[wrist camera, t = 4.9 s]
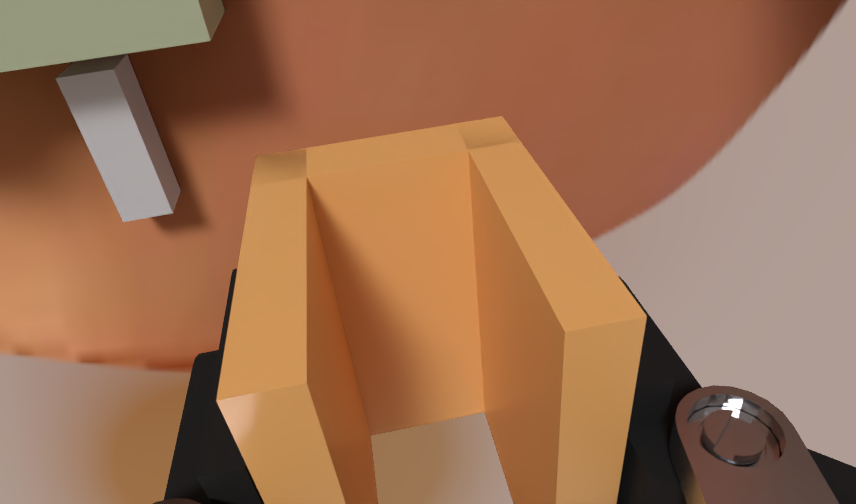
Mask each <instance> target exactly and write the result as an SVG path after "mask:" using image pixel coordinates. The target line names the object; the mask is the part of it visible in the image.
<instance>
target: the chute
mask: <svg viewBox="0 0 856 504" xmlns="http://www.w3.org/2000/svg"><path fill="white" fill-rule="evenodd" d="M646 319H647V315H646V314H645V313H644V311H643V310H642V309H641V307H640V306H639V304H638V303H637V302H636V300H635V299H634V297H633V296H632V295H631V293H630V292H629V291H628V289H627V288H626V286H625V285H624V284H623V282H622V281H621V280H620V278H619V277H618V276H617V274H616V273H615V271H614V270H613V269H612V267H611V266H610V264H609V263H608V262H607V260H606V259H605V258H604V256H603V255H602V253H601V252H600V251H599V249H598V248H597V246H596V245H595V244H594V242H593V241H592V240H591V238H590V237H589V235H588V234H587V233H586V231H585V230H584V228H583V227H582V226H581V224H580V223H579V222H578V220H577V219H576V217H575V216H574V215H573V213H572V212H571V211H570V209H569V208H568V206H567V205H566V204H565V202H564V201H563V199H562V198H561V197H560V195H559V194H558V193H557V191H556V190H555V188H554V187H553V186H552V184H551V183H550V182H549V180H548V179H547V177H546V176H545V175H544V173H543V172H542V171H541V169H540V168H539V166H538V165H537V164H536V162H535V161H534V159H533V158H532V157H531V155H530V154H529V153H528V151H527V150H526V148H525V147H524V146H523V144H522V143H521V142H520V140H519V139H518V137H517V136H516V135H515V133H514V132H513V130H512V129H511V128H510V126H509V125H508V124H507V122H506V121H505V119H504V118H503V117H502V116H500V117H494V118H488V119H482V120H475V121H469V122H463V123H457V124H451V125H445V126H439V127H433V128H427V129H420V130H414V131H408V132H402V133H396V134H390V135H384V136H378V137H371V138H365V139H359V140H353V141H347V142H341V143H335V144H329V145H323V146H316V147H310V148H304V149H298V150H292V151H286V152H280V153H274V154H268V155H261V156H256V158H255V164H254V170H253V176H252V182H251V189H250V195H249V201H248V207H247V213H246V219H245V226H244V232H243V238H242V244H241V250H240V256H239V263H238V269H237V275H236V281H235V287H234V294H233V300H232V306H231V312H230V318H229V324H228V331H227V337H226V343H225V349H224V355H223V362H222V368H221V374H220V380H219V386H218V392H217V399H216V401H217V403H218V406H219V408H220V410H221V412H222V414H223V416H224V418H225V421H226V423H227V425H228V427H229V429H230V431H231V433H232V435H233V438H234V440H235V442H236V444H237V446H238V448H239V450H240V452H241V455H242V457H243V459H244V461H245V463H246V465H247V467H248V469H249V472H250V474H251V476H252V478H253V480H254V482H255V484H256V487H257V489H258V491H259V493H260V495H261V497H262V499H263V501H264V504H378V499H377V489H376V480H375V471H374V461H373V452H372V443H371V435H376V434H380V433H385V432H390V431H395V430H400V429H405V428H410V427H414V426H419V425H425V424H429V423H434V422H439V421H444V420H449V419H454V418H459V417H463V416H468V415H473V414H478V413H483V412H485V414H486V418H487V420H488V424H489V427H490V430H491V434H492V437H493V440H494V443H495V446H496V449H497V452H498V456H499V459H500V462H501V465H502V468H503V472H504V475H505V478H506V481H507V484H508V487H509V491H510V494H511V497H512V500H513V503H514V504H617V497H618V491H619V485H620V479H621V473H622V467H623V460H624V454H625V448H626V442H627V436H628V430H629V424H630V417H631V411H632V405H633V399H634V393H635V387H636V381H637V374H638V368H639V362H640V356H641V350H642V344H643V337H644V331H645V325H646Z"/></svg>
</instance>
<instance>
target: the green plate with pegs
mask: <svg viewBox="0 0 856 504" xmlns="http://www.w3.org/2000/svg"><path fill="white" fill-rule="evenodd" d="M224 12H225V10H224V6H223V3H222V0H0V72H7V71H13V70H20V69H27V68H34V67H40V66H47V65H54V64H60V63H67V62H73V63H72V64H70V65H69V66H68V67H67V68H66V69H65V70H64V71H63V72H62V73H61V74H59V75H58V76H57V77H56V78H55V79H56V81H57V83H58V85H59V87H60V89H61V92H62V94H63V96H64V98H65V100H66V102H67V104H68V106H69V108H70V111H71V113H72V115H73V117H74V119H75V121H76V123H77V125H78V127H79V130H80V132H81V134H82V136H83V138H84V140H85V142H86V144H87V146H88V149H89V151H90V153H91V155H92V157H93V159H94V161H95V163H96V165H97V168H98V170H99V172H100V174H101V176H102V178H103V180H104V182H105V184H106V187H107V189H108V191H109V193H110V195H111V197H112V199H113V201H114V203H115V206H116V208H117V210H118V212H119V214H120V216H121V218H122V220H123V222H126V221H132V220H138V219H143V218H149V217H155V216H161V215H166V214H172V213H173V212H174V209H175V206H176V203H177V200H178V197H179V195H180V192H181V190H180V187H179V185H178V182H177V180H176V177H175V175H174V172H173V170H172V167H171V165H170V162H169V159H168V157H167V154H166V152H165V149H164V147H163V144H162V142H161V139H160V136H159V134H158V131H157V129H156V126H155V124H154V121H153V119H152V116H151V114H150V111H149V108H148V106H147V103H146V101H145V98H144V96H143V93H142V91H141V88H140V85H139V83H138V80H137V78H136V75H135V73H134V70H133V68H132V65H131V63H130V60H129V57H128V55H127V53H134V52H140V51H147V50H154V49H160V48H167V47H174V46H180V45H187V44H194V43H201V42H207V41H211V39H212V37H213V35H214V33H215V31H216V29H217V27H218V25H219V22H220V20H221V18H222V16H223V14H224ZM120 54H124V55H120ZM114 55H117V56H114ZM107 56H110V57H107ZM100 57H104V58H100ZM94 58H97V59H94ZM87 59H90V60H87ZM80 60H84V61H80ZM74 61H77V62H74Z"/></svg>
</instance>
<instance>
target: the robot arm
mask: <svg viewBox="0 0 856 504" xmlns="http://www.w3.org/2000/svg"><path fill="white" fill-rule="evenodd" d="M237 269H238V268H237ZM237 269H234V270H233V272H232V276H231V282H230V287H229V293H228V299H227V305H226V311H225V317H224V322H223V328H222V334H221V340H220V346H219V350H217V351H211V352H206V353H201V354H199V355H198V356H197V357H196V358H195V361H194V364H193V368H192V372H191V377H190V382H189V386H188V391H187V396H186V400H185V405H184V410H183V414H182V419H181V423H180V428H179V432H178V437H177V442H176V446H175V451H174V456H173V460H172V465H171V469H170V474H169V479H168V484H167V488H166V492H165V497H164V500H163V501H159V502H155V503H153V504H264V501H263V499H262V497H261V495H260V493H259V491H258V489H257V487H256V484H255V482H254V480H253V478H252V476H251V474H250V472H249V469H248V467H247V465H246V463H245V461H244V459H243V457H242V455H241V452H240V450H239V448H238V446H237V444H236V442H235V440H234V438H233V435H232V433H231V431H230V429H229V427H228V425H227V423H226V421H225V418H224V416H223V414H222V412H221V410H220V408H219V406H218V403H217V401H216V399H217V392H218V386H219V380H220V374H221V368H222V362H223V355H224V349H225V343H226V337H227V331H228V324H229V318H230V312H231V306H232V300H233V294H234V287H235V281H236V275H237ZM618 277H619V276H618ZM619 278H620V277H619ZM620 280H621V281H622V282H623V284H624V285H625V286H626V288H627V289H628V291H629V292H630V293H631V295H632V296H633V297H634V299H635V300H636V302H637V303H638V304H639V306H640V307H641V309H642V310H643V311H644V313H645V314H646V315H647V319H646V325H645V331H644V337H643V344H642V350H641V356H640V362H639V368H638V374H637V381H636V387H635V393H634V399H633V405H632V411H631V417H630V424H629V430H628V436H627V442H626V448H625V454H624V460H623V467H622V473H621V479H620V485H619V491H618V497H617V504H856V467H853V466H851V465H848V464H845V463H843V462H840V461H838V460H835V459H833V458H830V457H827V456H825V455H822V454H820V453H817V452H815V451H812V450H809V449H807V448H806V446H805V445H804V443H803V441H802V440H801V438H800V436H799V434H798V433H797V431H796V429H795V428H794V426H793V425H792V424H791V422H790V421H789V420H788V419H787V417H786V416H785V415H784V414H783V412H782V411H780V410H779V409H778V408H776V407H775V406H774V405H773V404H771V403H770V402H769V401H768V400H766V399H764V398H762V397H759V396H757V395H756V394H754V393H752V392H749V391H745V390H742V389H738V388H735V387H729V386H709V387H704V388H702V387H701V386H700V384H699V383H698V382H697V380H696V379H695V378H694V376H693V375H692V373H691V372H690V371H689V369H688V368H687V367H686V365H685V364H684V362H683V361H682V360H681V358H680V357H679V356H678V354H677V353H676V352H675V350H674V349H673V348H672V346H671V345H670V343H669V342H668V341H667V339H666V338H665V336H664V335H663V334H662V332H661V331H660V330H659V328H658V327H657V325H656V324H655V323H654V321H653V320H652V319H651V317H650V316H649V315H648V313H647V312H646V310H645V309H644V308H643V306H642V305H641V304H640V302H639V301H638V299H637V298H636V297H635V295H634V294H633V293H632V291H631V290H630V289H629V287H628V286H627V284H626V283H625V282H624V281H623V280H622V279H621V278H620Z"/></svg>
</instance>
